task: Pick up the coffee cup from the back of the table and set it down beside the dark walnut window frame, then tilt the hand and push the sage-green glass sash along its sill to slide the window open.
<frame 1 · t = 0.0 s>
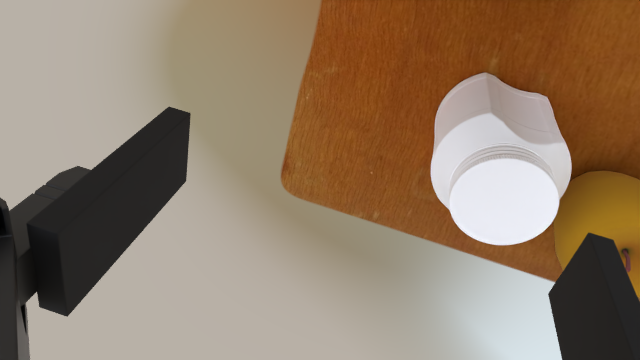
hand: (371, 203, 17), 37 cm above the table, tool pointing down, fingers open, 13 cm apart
apple: (597, 191, 54), on the table
jar: (491, 123, 52), on the table
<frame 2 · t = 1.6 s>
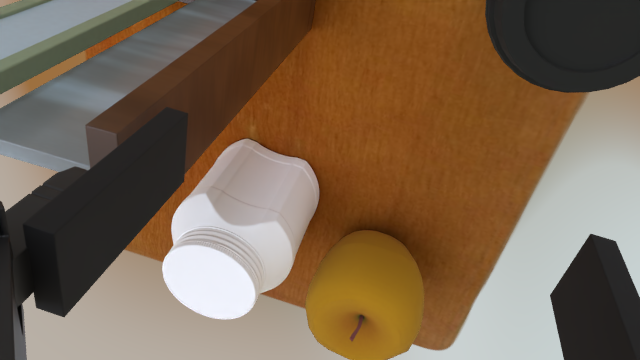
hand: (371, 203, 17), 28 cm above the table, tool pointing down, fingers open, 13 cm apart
window sash: (97, 5, 30), point 15 cm above the table, slide at 0.0 cm
apple: (377, 246, 55), on the table
jar: (267, 184, 54), on the table
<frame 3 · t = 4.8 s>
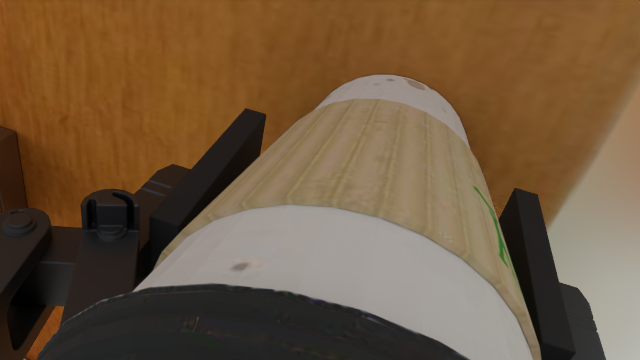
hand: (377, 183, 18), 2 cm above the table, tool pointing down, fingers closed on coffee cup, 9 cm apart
coffee cup: (385, 148, 20), on the table, touching gripper
when the fingers open (2 cm above the table, at t = 14.4 s): coffee cup stays where it is, on the table.
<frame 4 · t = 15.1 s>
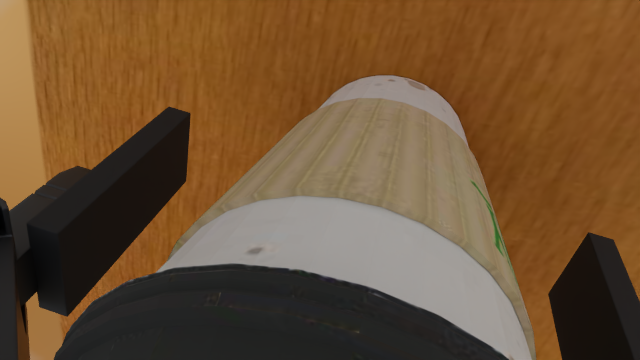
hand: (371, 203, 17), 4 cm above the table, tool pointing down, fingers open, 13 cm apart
coffee cup: (386, 147, 20), on the table
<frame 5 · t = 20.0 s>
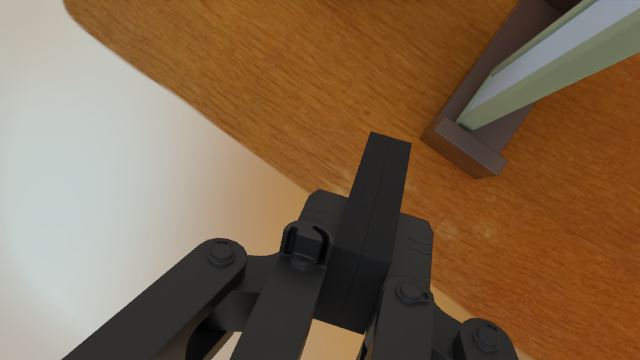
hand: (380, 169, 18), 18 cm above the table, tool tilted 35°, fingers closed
window sash: (573, 41, 22), point 15 cm above the table, slide at 0.0 cm
window frame: (502, 81, 37), on the table
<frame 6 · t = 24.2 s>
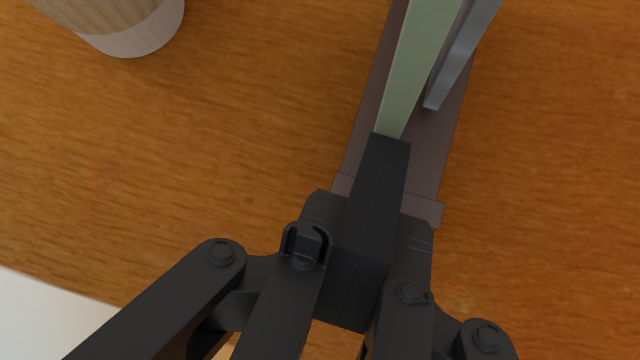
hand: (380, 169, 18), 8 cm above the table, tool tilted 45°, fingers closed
coffee cup: (132, 10, 29), on the table
window frame: (409, 103, 28), on the table
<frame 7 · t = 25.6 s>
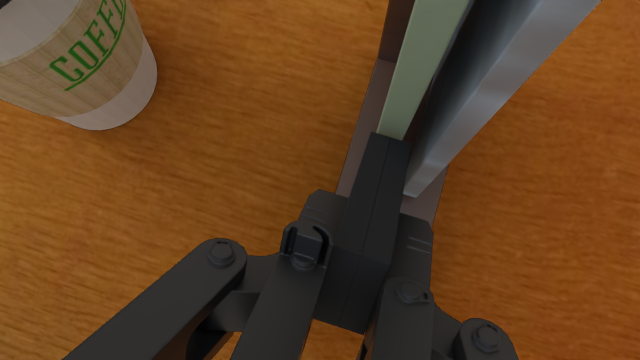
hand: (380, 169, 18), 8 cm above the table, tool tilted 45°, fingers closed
coffee cup: (103, 78, 28), on the table
window frame: (389, 181, 27), on the table
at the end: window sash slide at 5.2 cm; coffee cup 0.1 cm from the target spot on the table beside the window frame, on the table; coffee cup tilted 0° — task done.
